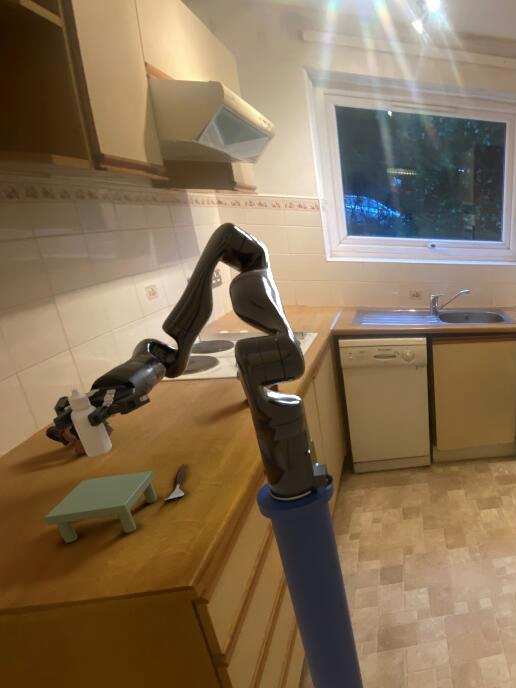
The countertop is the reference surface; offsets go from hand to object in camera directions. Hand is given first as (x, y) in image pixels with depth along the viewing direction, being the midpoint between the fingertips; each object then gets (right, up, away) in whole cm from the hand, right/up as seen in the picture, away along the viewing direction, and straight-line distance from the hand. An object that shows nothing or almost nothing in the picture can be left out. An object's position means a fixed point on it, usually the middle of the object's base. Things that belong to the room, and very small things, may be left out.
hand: (75, 422), depth 73 cm
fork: (+4, -14, +17) cm, 23 cm away
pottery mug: (-29, -8, +31) cm, 43 cm away
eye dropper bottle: (-1, -6, +5) cm, 8 cm away
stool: (0, -18, +7) cm, 20 cm away
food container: (-3, +2, +57) cm, 58 cm away
